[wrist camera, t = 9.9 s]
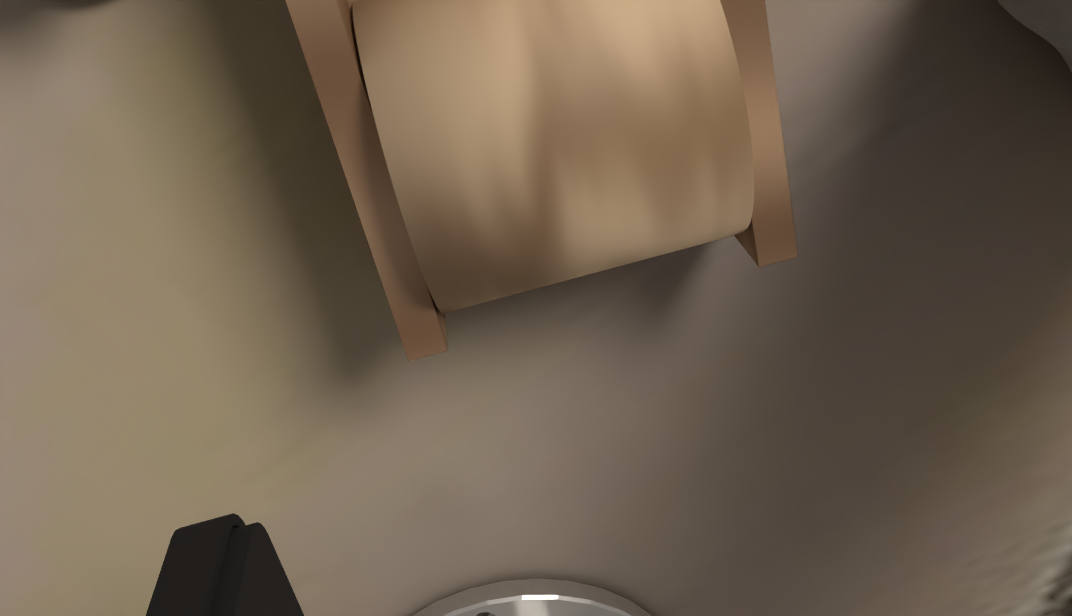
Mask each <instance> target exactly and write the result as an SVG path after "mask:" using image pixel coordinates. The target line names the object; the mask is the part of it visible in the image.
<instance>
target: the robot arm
mask: <svg viewBox="0 0 1072 616" xmlns="http://www.w3.org/2000/svg"><path fill="white" fill-rule="evenodd" d="M146 616H304V614H303V612H302V610H301V607H300V605H299V603H298V601H297V598H296V596H295V594H294V592H293V589H292V587H291V585H290V583H289V580H288V578H287V576H286V574H285V571H284V569H283V567H282V565H281V562H280V560H279V558H278V556H277V553H276V551H275V549H274V547H273V544H272V542H271V540H270V537H269V535H268V533H267V531H266V530H265V528H264V527H263V525H262V524H261V523H258V522H257V523H253V524H249V525H245V523H244V521H243V520H242V519H241V518H240V517H239V516H238V515H236V514H229V515H226V516H222V517H218V518H215V519H211V520H207V521H204V522H200V523H196V524H193V525H189V526H185V527H182V528H179V529H177V530H175V532H174V534H173V536H172V538H171V541H170V544H169V547H168V550H167V553H166V556H165V559H164V562H163V565H162V568H161V571H160V574H159V577H158V580H157V583H156V586H155V589H154V592H153V595H152V598H151V601H150V604H149V607H148V610H147V614H146ZM412 616H652V615H650V614H649V613H648V612H646V611H645V610H643V609H642V608H640V607H639V606H638V605H636V604H635V603H633V602H632V601H630V600H628V599H626V598H623V597H621V596H619V595H617V594H614V593H612V592H610V591H607V590H605V589H603V588H599V587H595V586H590V585H586V584H582V583H578V582H574V581H566V580H553V579H539V578H535V579H522V580H509V581H500V582H496V583H492V584H487V585H483V586H479V587H474V588H470V589H466V590H464V591H461V592H459V593H456V594H454V595H451V596H449V597H446V598H444V599H441V600H439V601H436V602H434V603H432V604H431V605H429V606H427V607H426V608H424V609H422V610H421V611H419V612H417V613H415V614H414V615H412Z"/></svg>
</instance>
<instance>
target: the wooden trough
mask: <svg viewBox="0 0 1072 616" xmlns="http://www.w3.org/2000/svg"><path fill="white" fill-rule="evenodd" d="M285 1H286V4H287V7H288V9H289V12H290V15H291V18H292V21H293V24H294V27H295V30H296V33H297V36H298V39H299V42H300V45H301V48H302V50H303V53H304V56H305V59H306V62H307V65H308V68H309V71H310V74H311V77H312V80H313V83H314V86H315V88H316V91H317V94H318V97H319V100H320V103H321V106H322V109H323V112H324V115H325V118H326V121H327V124H328V127H329V129H330V132H331V135H332V138H333V141H334V144H335V147H336V150H337V153H338V156H339V159H340V162H341V165H342V168H343V170H344V173H345V176H346V179H347V182H348V185H349V188H350V191H351V194H352V197H353V200H354V203H355V206H356V209H357V211H358V214H359V217H360V220H361V223H362V226H363V229H364V232H365V235H366V238H367V241H368V244H369V247H370V250H371V252H372V255H373V258H374V261H375V264H376V267H377V270H378V273H379V276H380V279H381V282H382V285H383V288H384V290H385V293H386V296H387V299H388V302H389V305H390V308H391V311H392V314H393V317H394V320H395V323H396V326H397V329H398V331H399V334H400V337H401V340H402V343H403V346H404V349H405V352H406V355H407V358H408V361H411V360H415V359H419V358H422V357H426V356H430V355H434V354H437V353H441V352H445V351H448V349H447V338H446V327H445V315H444V313H447V312H451V311H455V310H458V309H462V308H466V307H470V306H473V305H477V304H481V303H484V302H488V301H492V300H496V299H499V298H503V297H507V296H510V295H514V294H518V293H522V292H525V291H529V290H533V289H537V288H540V287H544V286H548V285H551V284H555V283H559V282H563V281H566V280H570V279H574V278H578V277H581V276H585V275H589V274H592V273H596V272H600V271H604V270H607V269H611V268H615V267H619V266H622V265H626V264H630V263H633V262H637V261H641V260H645V259H648V258H652V257H656V256H660V255H663V254H667V253H671V252H674V251H678V250H682V249H686V248H689V247H693V246H697V245H701V244H704V243H708V242H712V241H715V240H719V239H723V238H727V237H730V236H735V237H736V238H737V239H738V241H739V242H740V243H741V245H742V246H743V247H744V248H745V250H746V251H747V252H748V254H749V255H750V256H751V257H752V259H753V260H754V261H755V262H756V264H757V265H758V266H759V267H761V266H765V265H769V264H773V263H776V262H780V261H784V260H788V259H791V258H795V257H798V252H797V245H796V237H795V229H794V222H793V214H792V206H791V199H790V191H789V183H788V176H787V168H786V160H785V153H784V145H783V137H782V130H781V122H780V114H779V107H778V99H777V91H776V84H775V76H774V68H773V61H772V53H771V45H770V38H769V30H768V22H767V15H766V7H765V0H285Z"/></svg>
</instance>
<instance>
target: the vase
mask: <svg viewBox="0 0 1072 616" xmlns="http://www.w3.org/2000/svg"><path fill="white" fill-rule="evenodd" d="M997 1H998V2H999V3H1000V5H1001V6H1002V7H1003V8H1004V9H1005V10H1006V11H1007V12H1008V13H1010V14H1011V15H1012V16H1013V17H1014V18H1015V19H1016V20H1017V21H1018V22H1020V23H1021V24H1023V25H1024V26H1026V27H1027V28H1029V29H1030V30H1032V31H1033V32H1035V33H1036V34H1038V35H1039V36H1041V37H1042V38H1044V39H1045V40H1046V41H1048V42H1049V43H1050V44H1051V45H1053V46H1054V47H1055V48H1056V49H1057V50H1058V51H1059V52H1060V54H1061V55H1062V57H1063V58H1064V60H1065V61H1066V63H1067V65H1068V67H1069V69H1070V71H1071V73H1072V0H997Z"/></svg>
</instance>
